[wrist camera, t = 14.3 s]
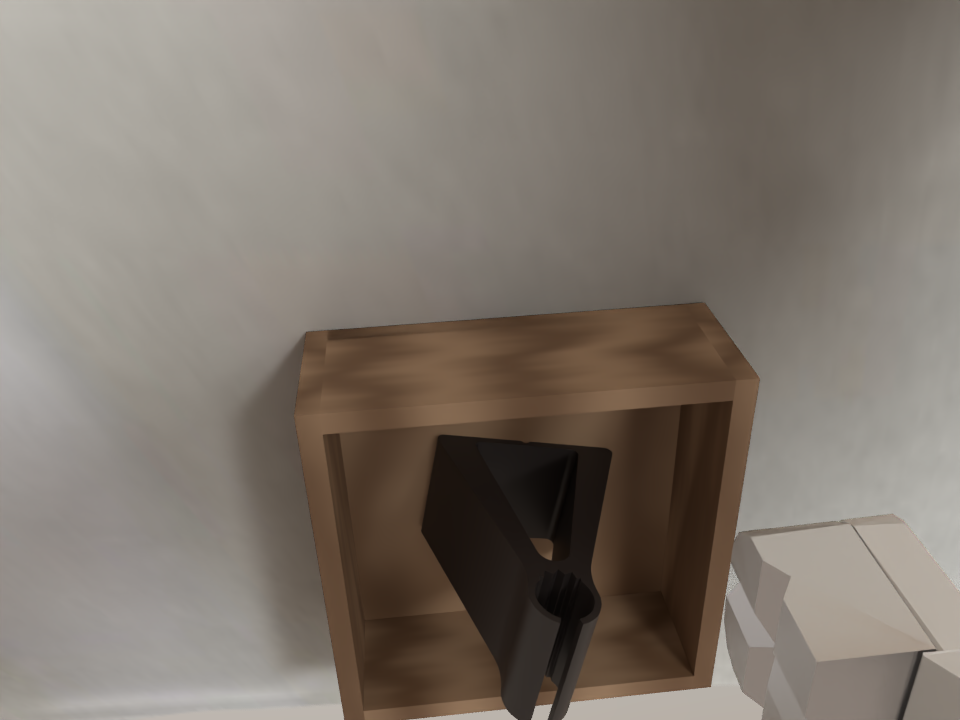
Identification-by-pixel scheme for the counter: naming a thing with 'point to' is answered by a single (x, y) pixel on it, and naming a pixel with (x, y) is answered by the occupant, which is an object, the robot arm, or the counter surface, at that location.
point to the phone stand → (521, 554)
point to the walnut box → (617, 554)
